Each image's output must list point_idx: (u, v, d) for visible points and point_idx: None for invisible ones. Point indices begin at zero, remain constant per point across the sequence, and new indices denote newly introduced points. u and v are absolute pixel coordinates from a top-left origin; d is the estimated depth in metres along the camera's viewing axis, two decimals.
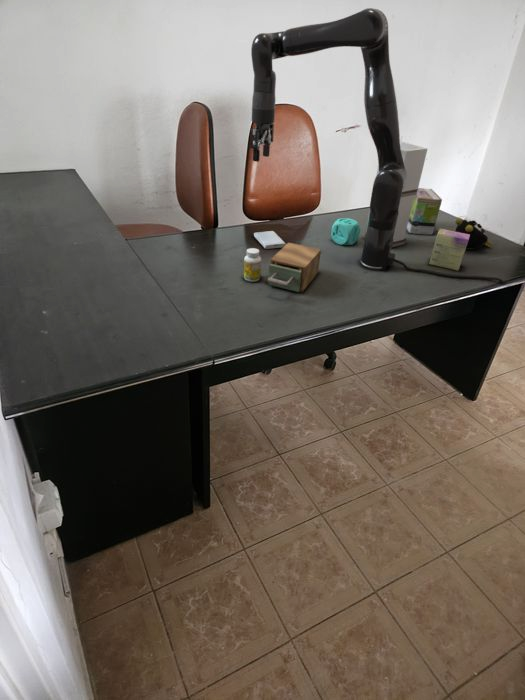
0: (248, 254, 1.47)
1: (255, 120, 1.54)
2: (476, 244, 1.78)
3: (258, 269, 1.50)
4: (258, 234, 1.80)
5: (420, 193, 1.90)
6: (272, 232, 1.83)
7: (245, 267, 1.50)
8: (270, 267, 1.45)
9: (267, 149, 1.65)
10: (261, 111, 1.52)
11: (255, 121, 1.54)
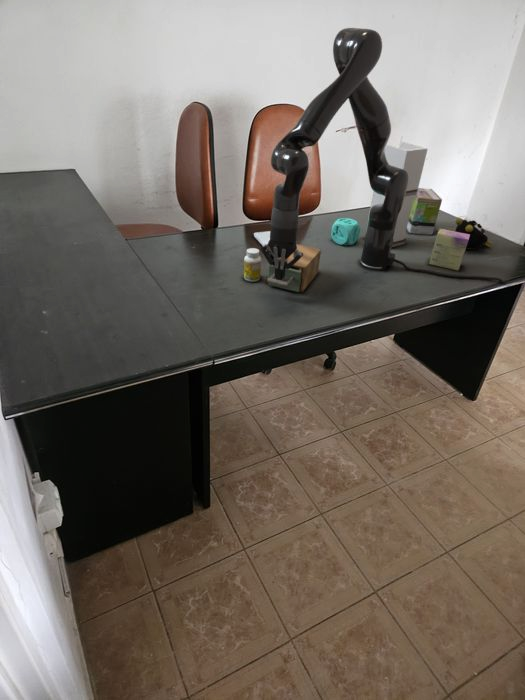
0: (248, 254, 1.47)
1: None
2: (476, 244, 1.78)
3: (258, 269, 1.50)
4: (258, 234, 1.80)
5: (420, 193, 1.90)
6: None
7: (245, 267, 1.50)
8: (270, 267, 1.45)
9: None
10: None
11: None
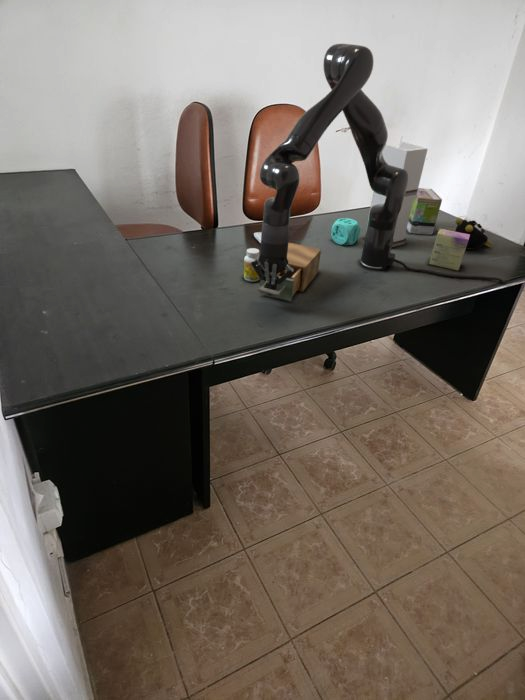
0: (248, 254, 1.47)
1: None
2: (476, 244, 1.78)
3: None
4: (258, 234, 1.80)
5: (420, 193, 1.90)
6: None
7: (245, 267, 1.50)
8: None
9: None
10: None
11: None
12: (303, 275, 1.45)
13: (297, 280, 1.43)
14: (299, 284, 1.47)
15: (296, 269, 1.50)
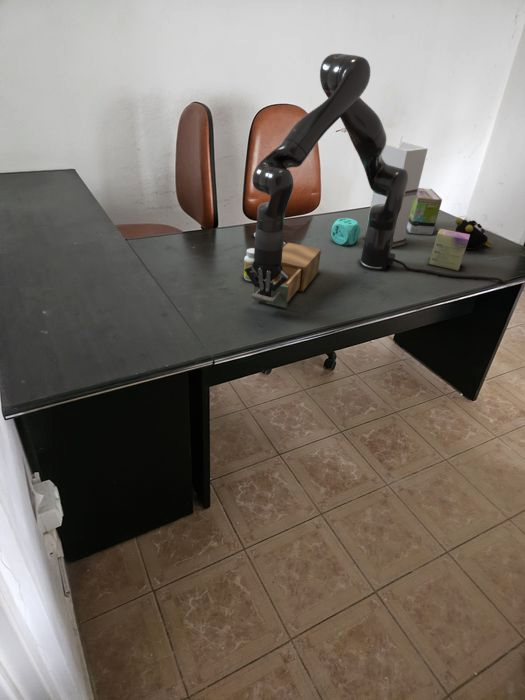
0: (248, 254, 1.47)
1: None
2: (476, 244, 1.78)
3: None
4: None
5: (420, 193, 1.90)
6: None
7: (245, 267, 1.50)
8: None
9: None
10: None
11: None
12: (303, 275, 1.45)
13: (292, 286, 1.40)
14: (294, 290, 1.43)
15: (291, 274, 1.47)
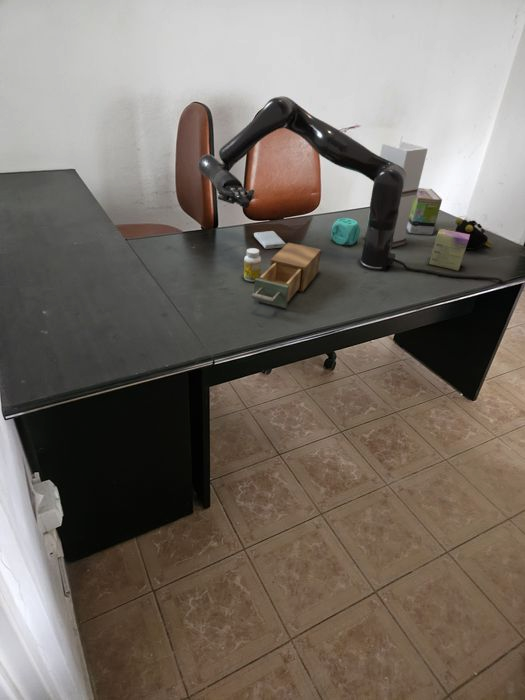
0: (248, 254, 1.47)
1: None
2: (476, 244, 1.78)
3: (258, 269, 1.50)
4: (258, 234, 1.80)
5: (420, 193, 1.90)
6: (272, 232, 1.83)
7: (245, 267, 1.50)
8: (255, 281, 1.37)
9: None
10: None
11: None
12: (303, 275, 1.45)
13: (292, 286, 1.40)
14: (294, 290, 1.43)
15: (291, 274, 1.47)
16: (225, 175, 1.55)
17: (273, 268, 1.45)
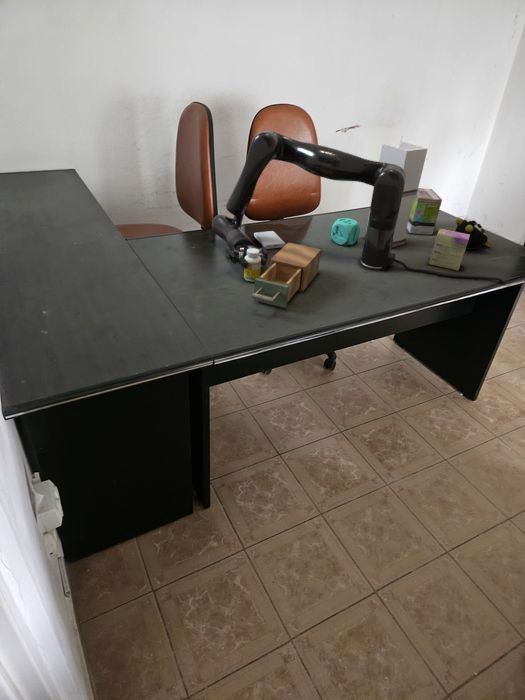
0: (248, 254, 1.47)
1: None
2: (476, 244, 1.78)
3: (258, 269, 1.50)
4: (258, 234, 1.80)
5: (420, 193, 1.90)
6: (272, 232, 1.83)
7: None
8: (255, 281, 1.37)
9: None
10: None
11: (253, 244, 1.58)
12: (303, 275, 1.45)
13: (292, 286, 1.40)
14: (294, 290, 1.43)
15: (291, 274, 1.47)
16: (237, 235, 1.58)
17: (273, 268, 1.45)
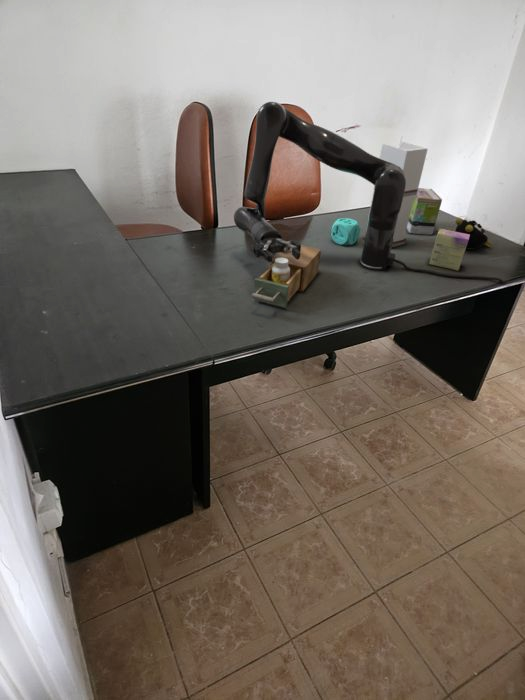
0: (277, 264, 1.38)
1: None
2: (476, 244, 1.78)
3: (287, 280, 1.40)
4: None
5: (420, 193, 1.90)
6: None
7: (273, 278, 1.40)
8: (255, 281, 1.37)
9: None
10: None
11: None
12: (303, 275, 1.45)
13: (292, 286, 1.40)
14: (294, 290, 1.43)
15: (291, 274, 1.47)
16: (263, 227, 1.45)
17: None
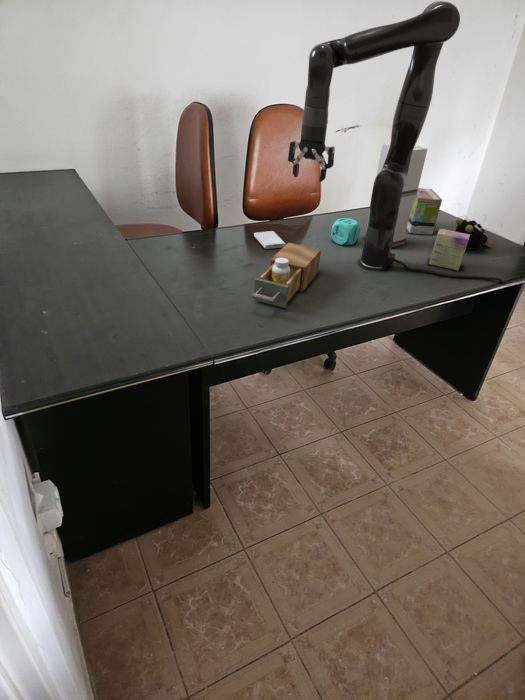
0: (277, 264, 1.38)
1: None
2: (476, 244, 1.78)
3: (287, 280, 1.40)
4: (258, 234, 1.80)
5: (420, 193, 1.90)
6: (272, 232, 1.83)
7: (273, 278, 1.40)
8: (255, 281, 1.37)
9: None
10: None
11: None
12: (303, 275, 1.45)
13: (292, 286, 1.40)
14: (294, 290, 1.43)
15: (291, 274, 1.47)
16: None
17: None
